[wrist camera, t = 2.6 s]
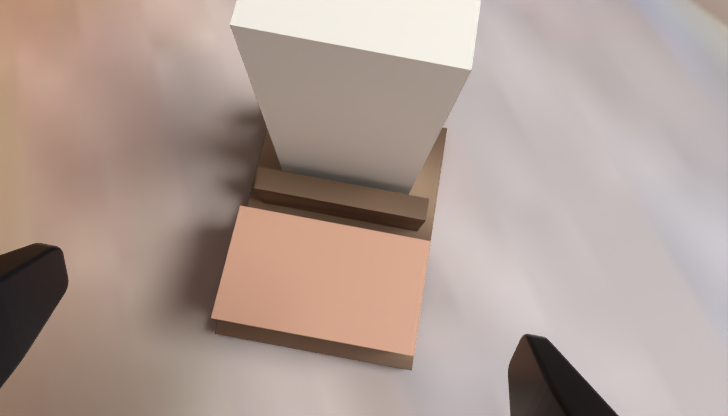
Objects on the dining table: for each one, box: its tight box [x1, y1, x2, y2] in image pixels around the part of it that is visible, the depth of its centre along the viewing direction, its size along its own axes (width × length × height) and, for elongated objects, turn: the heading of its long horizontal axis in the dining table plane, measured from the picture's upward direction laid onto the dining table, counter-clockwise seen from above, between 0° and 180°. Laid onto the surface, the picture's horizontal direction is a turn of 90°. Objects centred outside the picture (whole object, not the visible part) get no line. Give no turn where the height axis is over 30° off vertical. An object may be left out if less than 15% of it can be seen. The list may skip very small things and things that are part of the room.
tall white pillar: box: [230, 0, 481, 195], centre depth 18 cm, size 2×6×12 cm, turn 79°
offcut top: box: [211, 205, 431, 356], centre depth 19 cm, size 5×8×2 cm, turn 79°
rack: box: [215, 128, 447, 370], centre depth 22 cm, size 12×9×3 cm
